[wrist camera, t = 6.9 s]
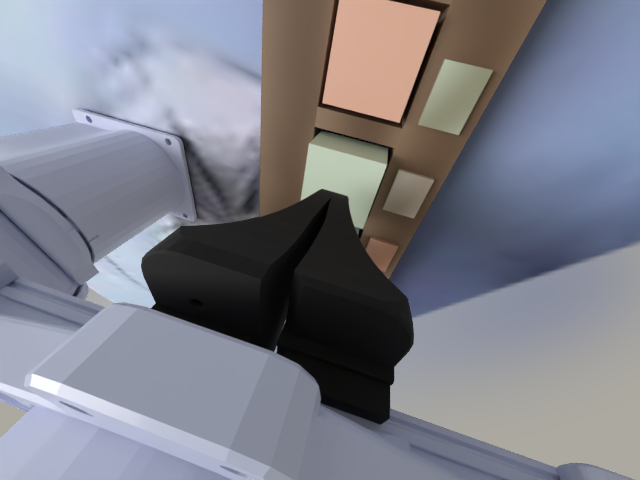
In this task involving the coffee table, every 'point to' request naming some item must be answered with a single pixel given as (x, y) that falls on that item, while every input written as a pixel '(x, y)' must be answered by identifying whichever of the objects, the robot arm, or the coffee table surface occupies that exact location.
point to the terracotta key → (377, 55)
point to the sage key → (345, 171)
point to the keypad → (404, 138)
